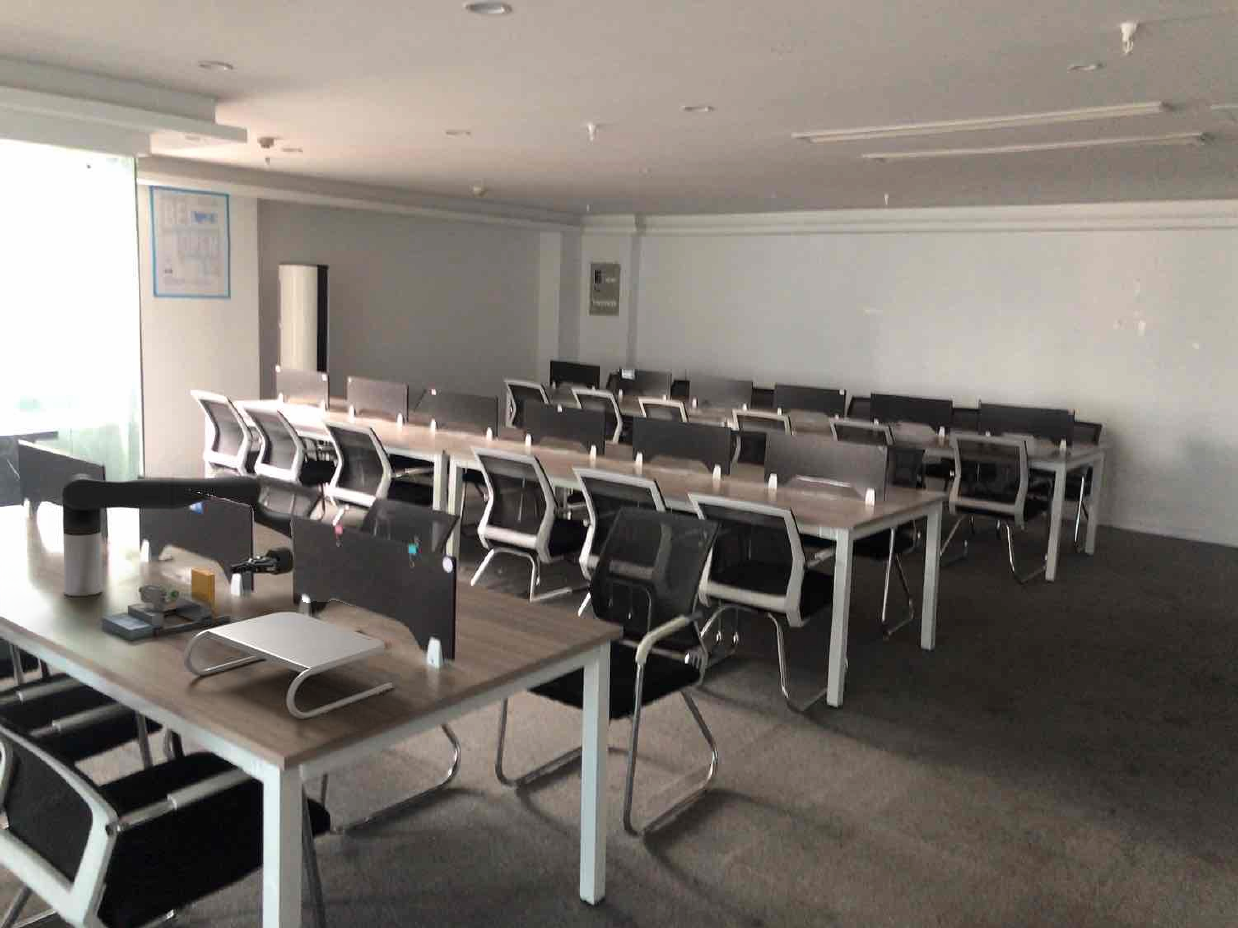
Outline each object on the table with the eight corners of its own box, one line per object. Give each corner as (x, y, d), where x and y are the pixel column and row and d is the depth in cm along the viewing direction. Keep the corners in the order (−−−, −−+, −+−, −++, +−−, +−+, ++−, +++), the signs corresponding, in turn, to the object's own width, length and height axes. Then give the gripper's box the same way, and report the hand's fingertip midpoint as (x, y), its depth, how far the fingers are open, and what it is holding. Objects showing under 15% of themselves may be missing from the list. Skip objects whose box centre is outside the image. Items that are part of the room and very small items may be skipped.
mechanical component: (173, 629, 251) (173, 591, 250) (137, 625, 253) (137, 587, 252) (180, 626, 254) (180, 588, 253) (145, 621, 256) (144, 584, 255)
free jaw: (176, 613, 264) (176, 569, 262) (194, 609, 268) (194, 566, 266) (201, 623, 257) (201, 578, 255) (219, 620, 261) (219, 575, 259)
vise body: (100, 627, 250) (100, 608, 249) (197, 607, 270) (197, 590, 270) (131, 642, 240) (131, 622, 240) (229, 620, 261) (229, 602, 260)
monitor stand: (394, 689, 222) (395, 643, 220) (289, 727, 199) (289, 676, 197) (288, 651, 242) (288, 608, 241) (182, 681, 219) (181, 634, 218)
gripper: (300, 576, 278) (245, 588, 265) (272, 567, 286) (217, 578, 272) (301, 550, 277) (245, 560, 263) (273, 542, 285) (217, 551, 271)
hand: (231, 569), depth 268 cm, fingers closed
